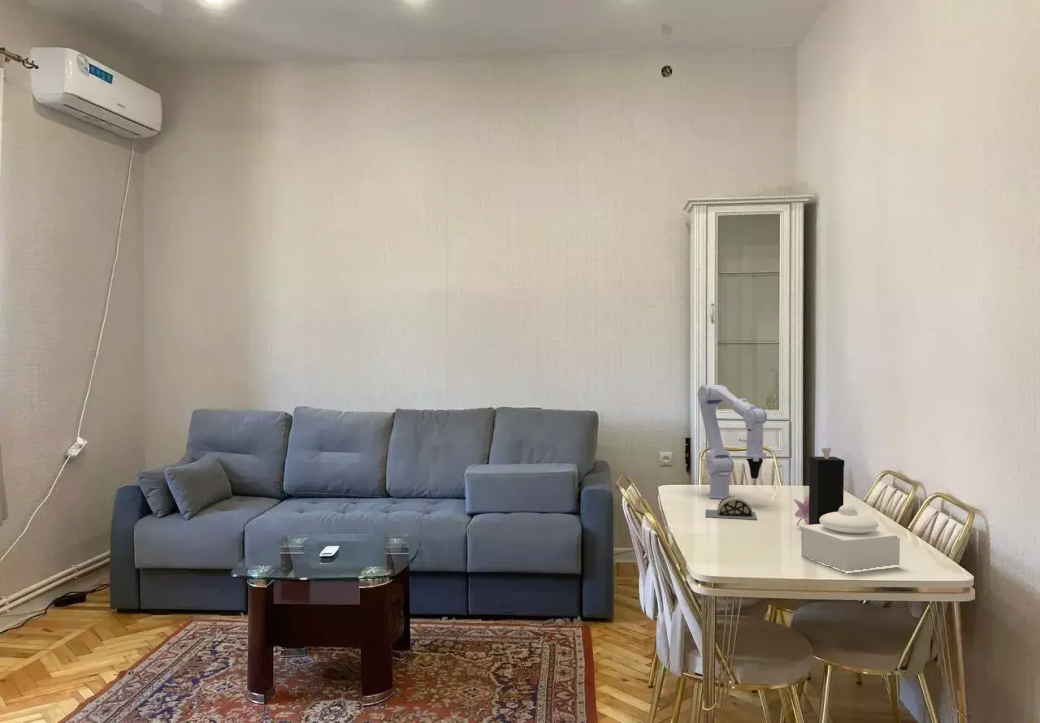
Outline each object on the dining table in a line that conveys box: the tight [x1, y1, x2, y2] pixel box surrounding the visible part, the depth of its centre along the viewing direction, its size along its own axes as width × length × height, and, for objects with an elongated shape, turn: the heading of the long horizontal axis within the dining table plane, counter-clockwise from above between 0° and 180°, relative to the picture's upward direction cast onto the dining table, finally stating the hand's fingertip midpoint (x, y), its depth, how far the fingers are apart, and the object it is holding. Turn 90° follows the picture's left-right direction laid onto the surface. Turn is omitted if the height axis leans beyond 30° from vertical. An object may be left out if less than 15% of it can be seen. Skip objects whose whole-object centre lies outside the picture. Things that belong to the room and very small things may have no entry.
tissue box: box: [808, 447, 845, 525], centre depth 236 cm, size 8×8×28 cm
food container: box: [716, 495, 754, 516], centre depth 271 cm, size 12×6×10 cm
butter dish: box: [799, 503, 901, 571], centre depth 211 cm, size 18×18×16 cm
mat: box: [705, 509, 758, 521], centre depth 270 cm, size 12×17×1 cm
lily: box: [793, 494, 809, 526], centre depth 252 cm, size 12×12×10 cm
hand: (754, 478), depth 284 cm, fingers closed
